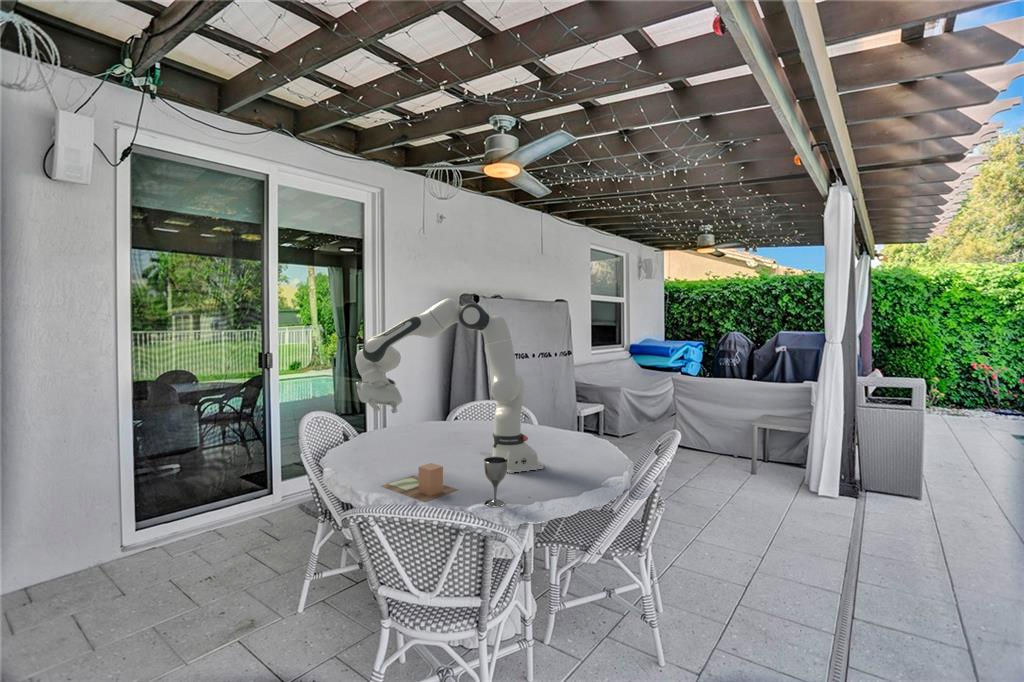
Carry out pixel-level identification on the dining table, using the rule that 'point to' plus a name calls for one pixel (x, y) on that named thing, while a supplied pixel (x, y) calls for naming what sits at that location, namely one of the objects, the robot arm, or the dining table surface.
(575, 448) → the dining table surface
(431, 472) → the tall salmon pillar
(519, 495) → the dining table surface
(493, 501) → the wine glass
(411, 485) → the board
